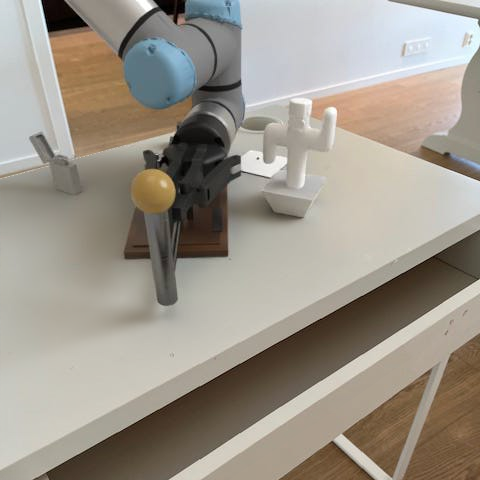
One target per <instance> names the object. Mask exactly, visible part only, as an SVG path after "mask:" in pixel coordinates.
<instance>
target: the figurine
mask: <svg viewBox="0 0 480 480" xmlns="http://www.w3.org/2000/svg"><path fill="white" fill-rule="evenodd" d="M312 109H313V100H311V99H309V98H306V97H293V98H291V99H290V100H289V105H288V117H289V118H288V120H287V123H286V124H285V123H279V122H270V123H268V124H267V125H266V126H265V128H264V131H263V139H262V141H263V142H262V152H263V161H264V163H266V164H271V163H273V162H274V161H275V158H276V155H277V147H278V146H279V147H284V148H287V149H286V150H287V155H286V158H287V164H286V170H284V169H279V171H278V172H277V173H275V174H274V175H273V176H272V177H271V179H270V180H269V181H268V183H267V184H266V185H265V186H264V187H263V188H262V190H261V192H262V194H263V196H264V197H265V199H266V201H267V202H268V204H269V206H270V208H271V210H273V212H274V213H278V214H283V215H288V216H293V217H298V218H303V219H304V218H305V217H306V215H307V214H308V212H309V210H310V209H311V208H312V206H313V204H314V202H315V201H316V199H317V197H318V195H319V194H320V192H321V190H322V189H323V186H324V185H325V183H326V181H327V180H328V177H327V176H322V175H321V176H320V175H315V174H310V173H306V169H307V157H308V151H310V152H311V151H312V152H316V153H317V152H318V153H328V152H330V151H331V150H332V148H333V145H334V142H335V135H336V126H337V118H338V111H337V108H336V107H334V106H328V107H327V108H325V110H324V111H323V115H322V123H321V128H315V127H311V125H310V118H311V117H310V116H311V115H312Z"/></svg>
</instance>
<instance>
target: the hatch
mask: <svg viewBox="0 0 480 480" xmlns="http://www.w3.org/2000/svg"><path fill="white" fill-rule="evenodd" d="M167 169H168V167H167V166H166V165H165V164H164V163H163V164H162V167H160V170H161V171H163V172H164V173H165V172H166V171H167ZM178 190H179V189H178ZM228 209H229V207H228V185H227V186H226V187H225V188H224V189H223V190H222V191H221V192H220V193H219V194H218V195H217V196H216V197H215V198H214V200H213V201H212V202H211V203H210V204H209V205H208V206H207V207H204V208H202V207H199V206H198V204H195V205H192V207H191V208H190V209H188V211H187V213H186V215H185V218H183V219H182V220H181V228H180V236H179V245H178V253H177V258H205V257H207V258H209V257H228V256H229V211H228ZM173 227H174V225H173ZM173 227H172V229H171V231H170V234H171V241H172V234H173ZM123 257H124V259H151V256H150V249H149V242H148V236H147V229H146V223H145V216H144V212H143V211H141V210H140V209H139V208H138V207H137V206H136V205H135V207H134V211H133V215H132V219H131V222H130V226H129V230H128V233H127V237H126V241H125V245H124V249H123Z"/></svg>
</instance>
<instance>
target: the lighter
mask: <svg viewBox="0 0 480 480" xmlns="http://www.w3.org/2000/svg"><path fill="white" fill-rule="evenodd" d="M28 139H29V142H30V143H31V145H32V146H33V148H34V150H35V152H36V153H37V155H38V157H39V158H40V160H41V162H42V164H47V163H48V164H49V168H50V172H51V175H52V179H53V183H54V187H55V190H57V189H58V190H57V191H60V190H61V192H63V193H66V192H67V194H69V195H71V196H72V195H73V196H76V195H78V194H80V193H81V192H83V188H82V184H81V180H80V175H79V171H78V170H79V169H78V167H77V163H76V162H71V161H69V157H68V156H67V155H64V154H61V153H60V154H59V153H58V154H56V153H55V152H54V150H53V148H52V147H51V144H50V143H49V140H47V138H46V135H45V134H44V132H43V131H39V132H37V133H35V134H32V135H31V136H29V137H28Z"/></svg>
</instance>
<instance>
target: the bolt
mask: <svg viewBox="0 0 480 480" xmlns="http://www.w3.org/2000/svg"><path fill="white" fill-rule="evenodd" d="M179 192H180V188H179ZM175 194H176V191H175V186H174V183H173V181H172V179H171V178H170V177H169V176H168V175H167V174H166V173H164V172H163V171H161V170H158V169H147V170H145V169H144V170H142V171H140V172H139V173H137V174H136V176H134V178H133V180H132V182H131V186H130V197H131V199H132V202H133V204H134V206H135V207H136V206H137V207H138V208H139V209H140V210H141V211H143V212H144V216H145V223H146V229H147V236H148V242H149V249H150V256H151V258H150V261H151V269H152V274H153V281H154V288H155V294H156V295H155V296H156V301H157V303H158V305H160V306H164V307H169V306H173V305H175V304H176V303H177V302H178V300H179V295H178V286H177V278H176V277H177V276H176V269H177V260H178V257H177V253H178V245H179V236H180V228H181V220H178V219H176V220H175V223H174V227H173V234H172V241H171V234H170V225H169V217H168V209H169V208H170V207H171V206H172V204H173V202H174V199H175Z"/></svg>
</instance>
